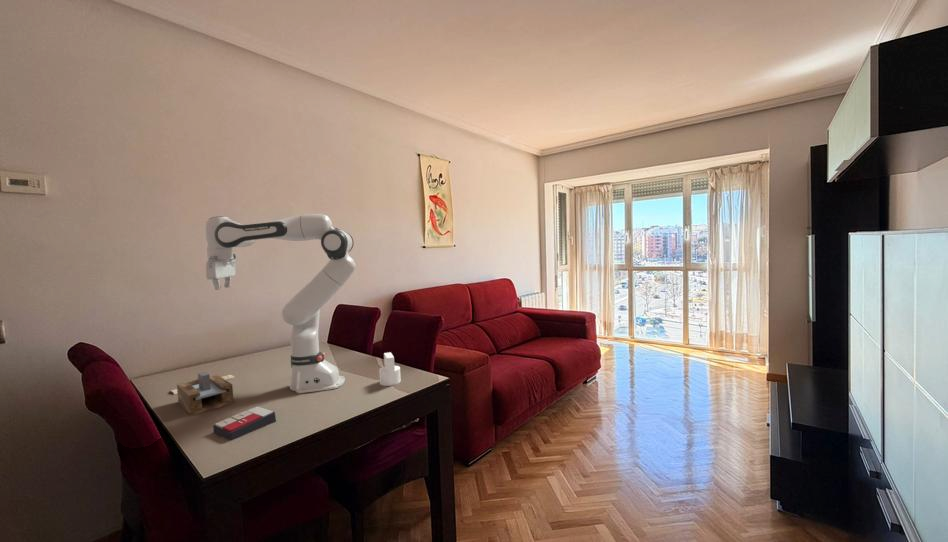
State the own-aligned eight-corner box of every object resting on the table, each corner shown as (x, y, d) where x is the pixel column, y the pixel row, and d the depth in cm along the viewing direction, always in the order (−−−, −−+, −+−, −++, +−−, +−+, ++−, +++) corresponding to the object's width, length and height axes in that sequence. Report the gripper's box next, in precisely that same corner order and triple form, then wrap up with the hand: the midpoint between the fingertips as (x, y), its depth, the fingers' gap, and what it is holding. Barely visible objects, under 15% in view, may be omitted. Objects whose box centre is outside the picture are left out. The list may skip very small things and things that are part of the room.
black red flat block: (212, 423, 126) (257, 404, 139) (213, 436, 127) (259, 415, 140) (229, 430, 121) (275, 409, 133) (231, 443, 121) (276, 421, 134)
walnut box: (218, 391, 165) (217, 374, 164) (233, 403, 152) (232, 384, 151) (178, 402, 155) (176, 384, 154) (190, 415, 141) (188, 395, 141)
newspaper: (174, 396, 164) (174, 392, 163) (168, 393, 168) (168, 389, 168) (234, 379, 183) (234, 375, 182) (228, 376, 187) (228, 373, 187)
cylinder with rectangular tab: (402, 383, 166) (401, 356, 165) (381, 387, 163) (379, 359, 162) (398, 377, 174) (397, 351, 174) (378, 380, 171) (376, 354, 170)
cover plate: (213, 382, 162) (212, 366, 162) (226, 391, 150) (224, 374, 150) (184, 389, 155) (182, 372, 154) (195, 400, 143) (193, 382, 143)
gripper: (217, 255, 151) (220, 290, 152) (237, 255, 171) (240, 285, 172) (199, 256, 150) (202, 291, 151) (222, 255, 170) (224, 286, 171)
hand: (222, 288), depth 162 cm, fingers open, 8 cm apart
